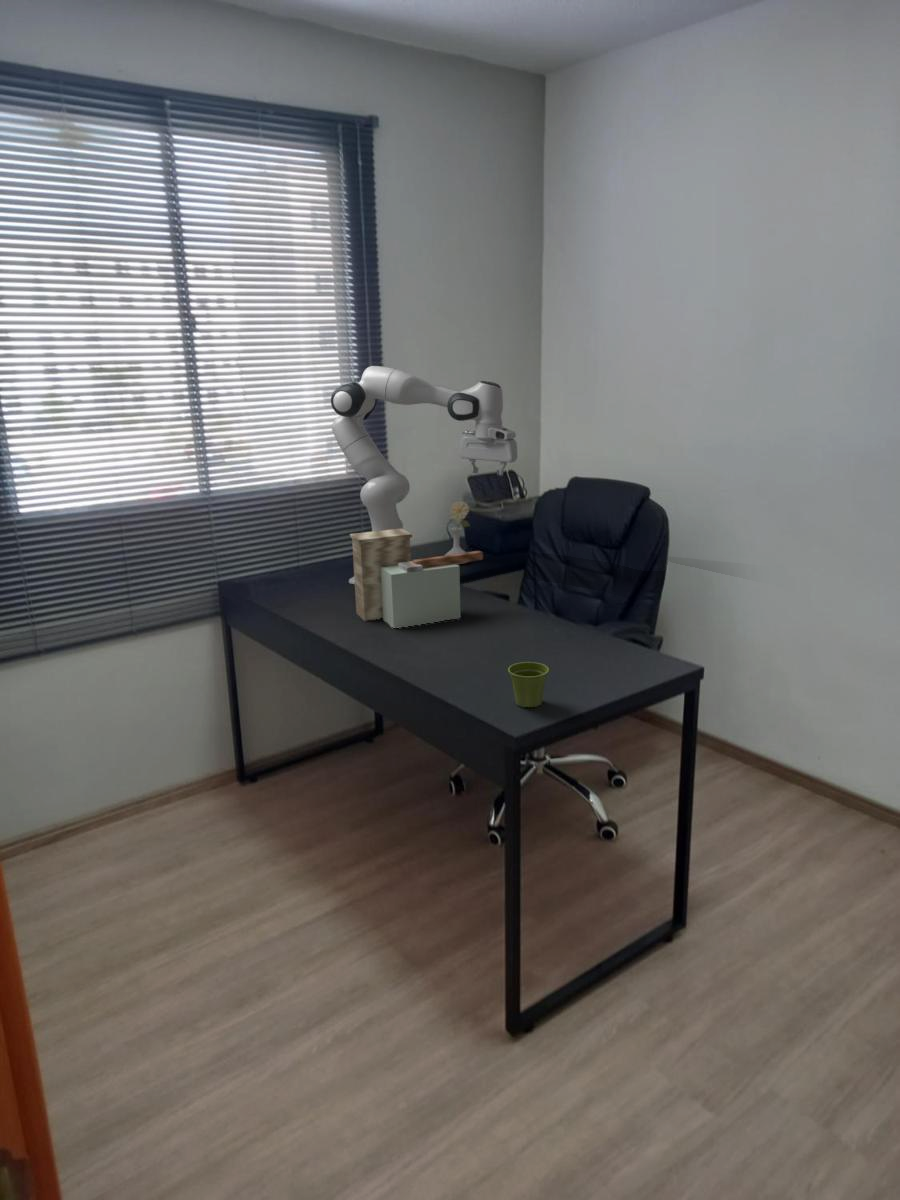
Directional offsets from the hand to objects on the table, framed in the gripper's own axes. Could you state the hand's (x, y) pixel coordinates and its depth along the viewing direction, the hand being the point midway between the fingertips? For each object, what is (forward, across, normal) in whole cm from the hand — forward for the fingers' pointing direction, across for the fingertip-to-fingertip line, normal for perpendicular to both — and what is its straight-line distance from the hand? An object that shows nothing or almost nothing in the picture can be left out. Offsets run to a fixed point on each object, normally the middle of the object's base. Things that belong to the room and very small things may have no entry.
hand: (487, 474), depth 279 cm
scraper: (+24, +3, -33) cm, 41 cm away
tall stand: (+42, -16, -38) cm, 59 cm away
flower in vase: (+41, -27, +29) cm, 57 cm away
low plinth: (+41, -2, -38) cm, 56 cm away
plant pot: (+40, +55, -82) cm, 107 cm away
